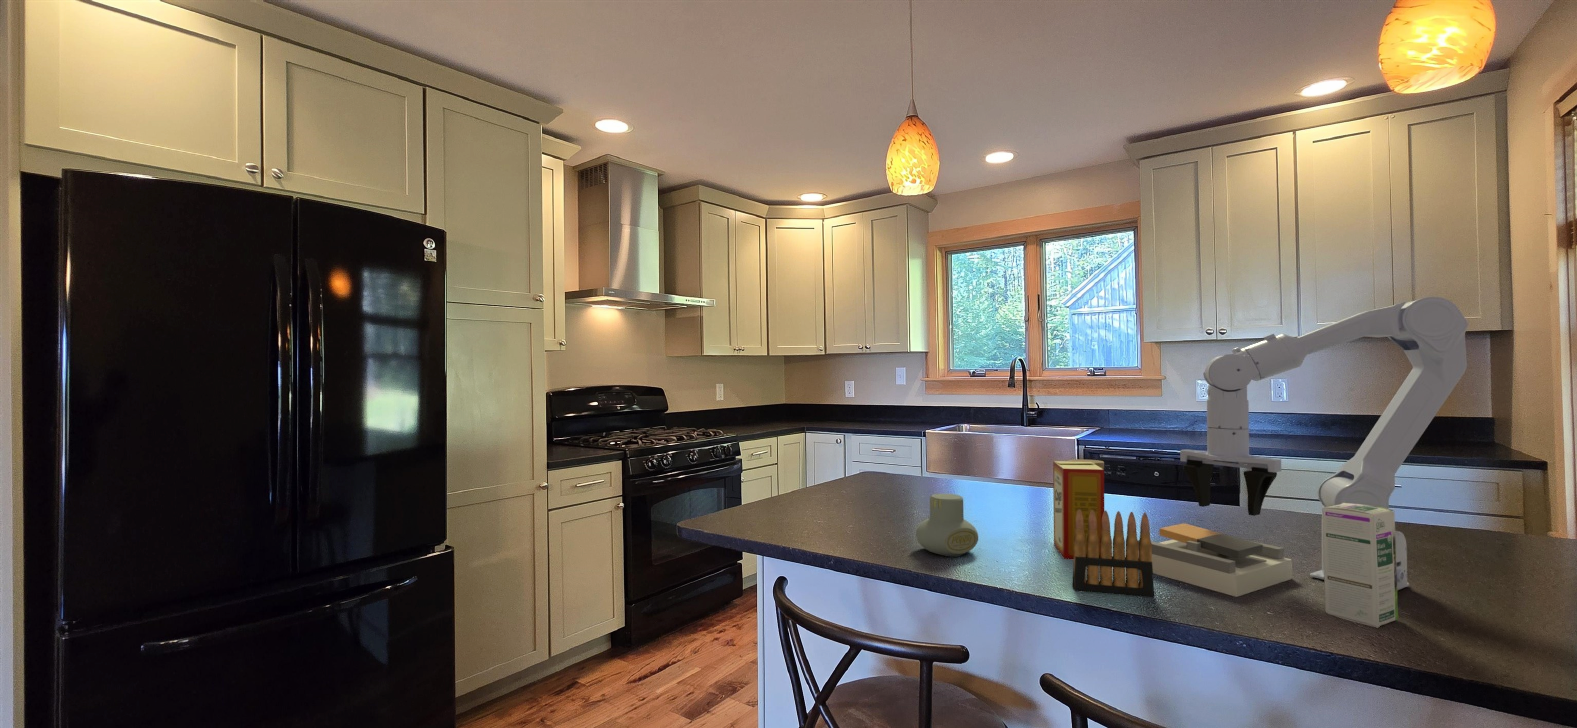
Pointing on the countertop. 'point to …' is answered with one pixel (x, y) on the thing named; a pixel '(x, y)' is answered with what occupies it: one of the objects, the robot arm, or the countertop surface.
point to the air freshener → (947, 527)
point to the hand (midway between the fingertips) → (1228, 510)
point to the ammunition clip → (1113, 557)
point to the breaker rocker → (1212, 540)
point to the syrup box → (1360, 563)
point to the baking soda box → (1075, 501)
